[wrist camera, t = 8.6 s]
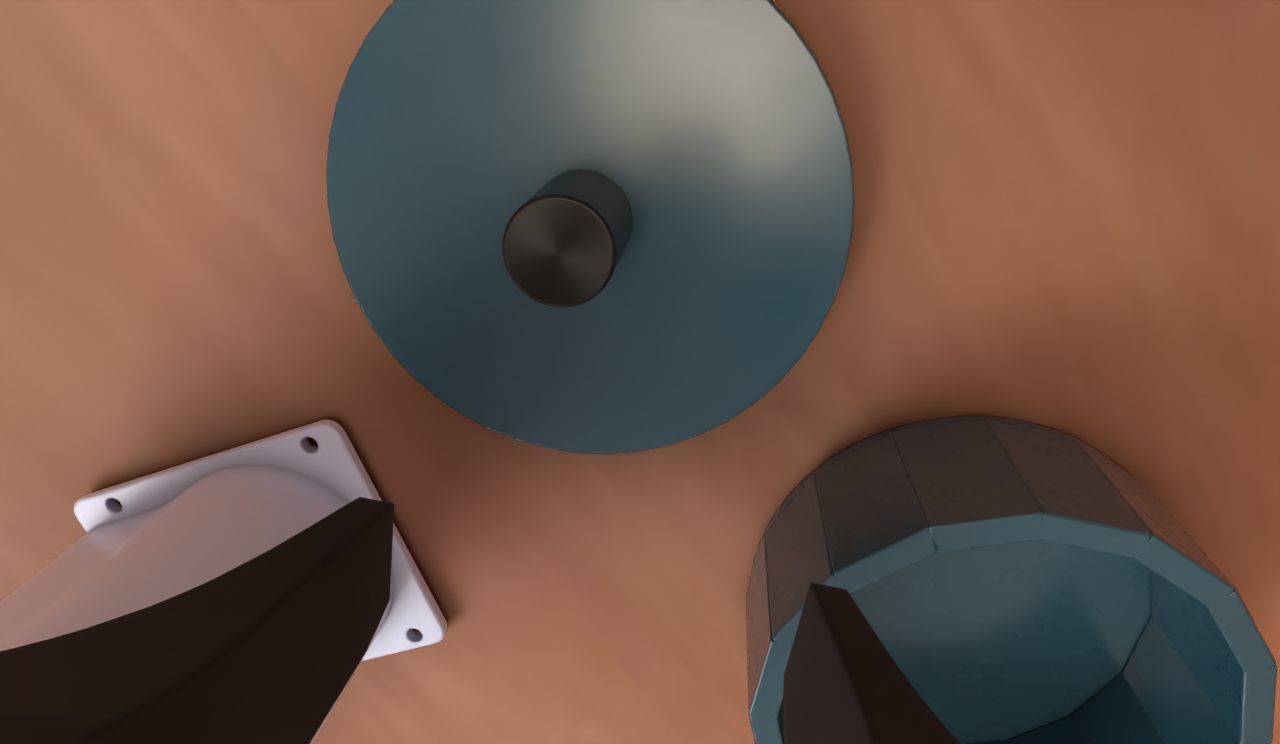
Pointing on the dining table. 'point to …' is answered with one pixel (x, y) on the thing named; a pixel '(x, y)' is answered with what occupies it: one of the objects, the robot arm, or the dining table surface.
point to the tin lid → (591, 209)
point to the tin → (1014, 591)
